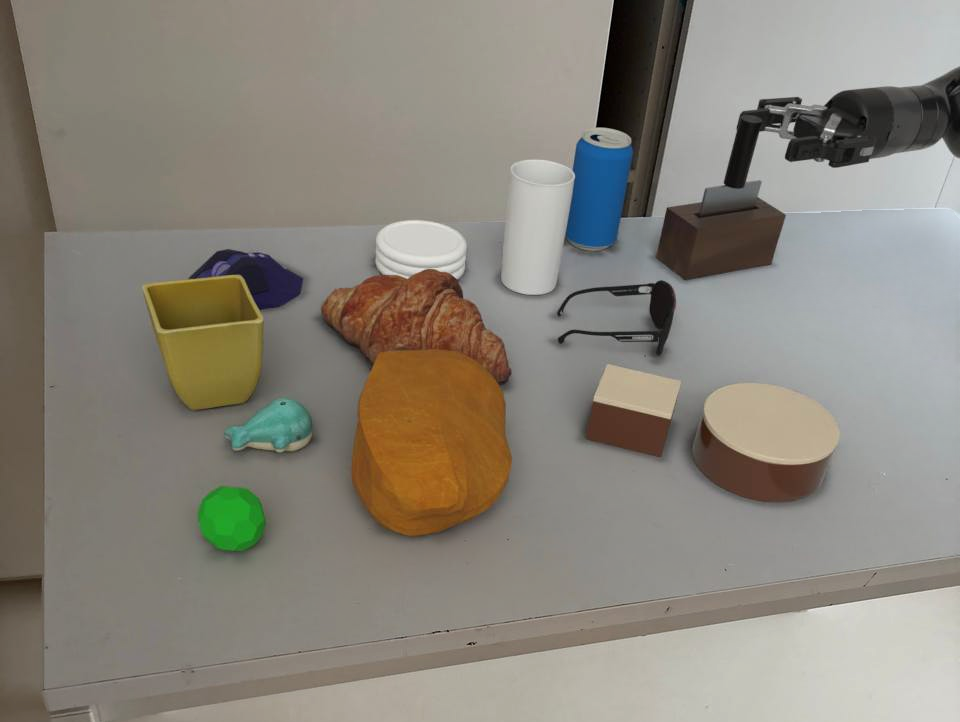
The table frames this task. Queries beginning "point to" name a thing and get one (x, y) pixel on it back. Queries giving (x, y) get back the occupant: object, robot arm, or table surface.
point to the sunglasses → (659, 311)
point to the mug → (535, 225)
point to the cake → (764, 442)
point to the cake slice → (633, 410)
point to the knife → (736, 175)
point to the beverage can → (598, 188)
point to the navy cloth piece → (254, 276)
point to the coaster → (419, 249)
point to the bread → (429, 441)
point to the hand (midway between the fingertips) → (763, 136)
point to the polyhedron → (231, 518)
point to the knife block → (718, 239)
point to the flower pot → (208, 338)
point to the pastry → (414, 319)
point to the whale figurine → (274, 428)
